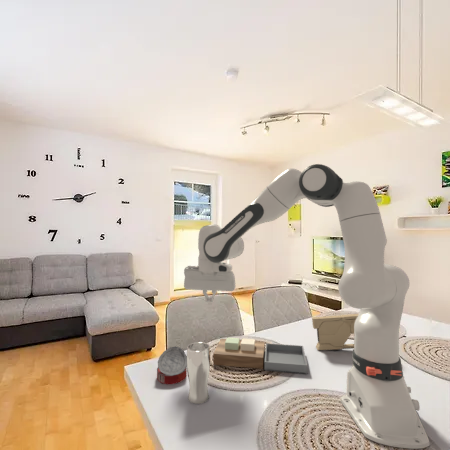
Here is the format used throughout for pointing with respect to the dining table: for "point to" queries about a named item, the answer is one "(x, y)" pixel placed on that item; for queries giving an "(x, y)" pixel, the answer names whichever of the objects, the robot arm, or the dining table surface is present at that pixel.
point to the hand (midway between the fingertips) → (209, 301)
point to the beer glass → (198, 371)
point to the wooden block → (239, 356)
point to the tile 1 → (232, 343)
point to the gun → (334, 331)
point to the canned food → (172, 366)
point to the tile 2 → (248, 344)
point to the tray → (285, 358)
